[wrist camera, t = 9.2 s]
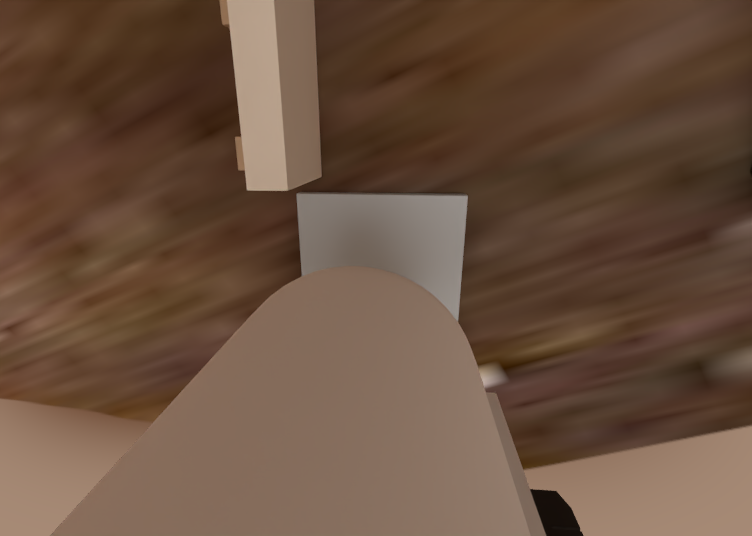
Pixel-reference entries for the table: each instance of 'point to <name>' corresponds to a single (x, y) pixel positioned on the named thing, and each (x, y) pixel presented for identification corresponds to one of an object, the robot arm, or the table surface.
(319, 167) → the beige block
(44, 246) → the table surface
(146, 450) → the mug
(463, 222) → the plate
